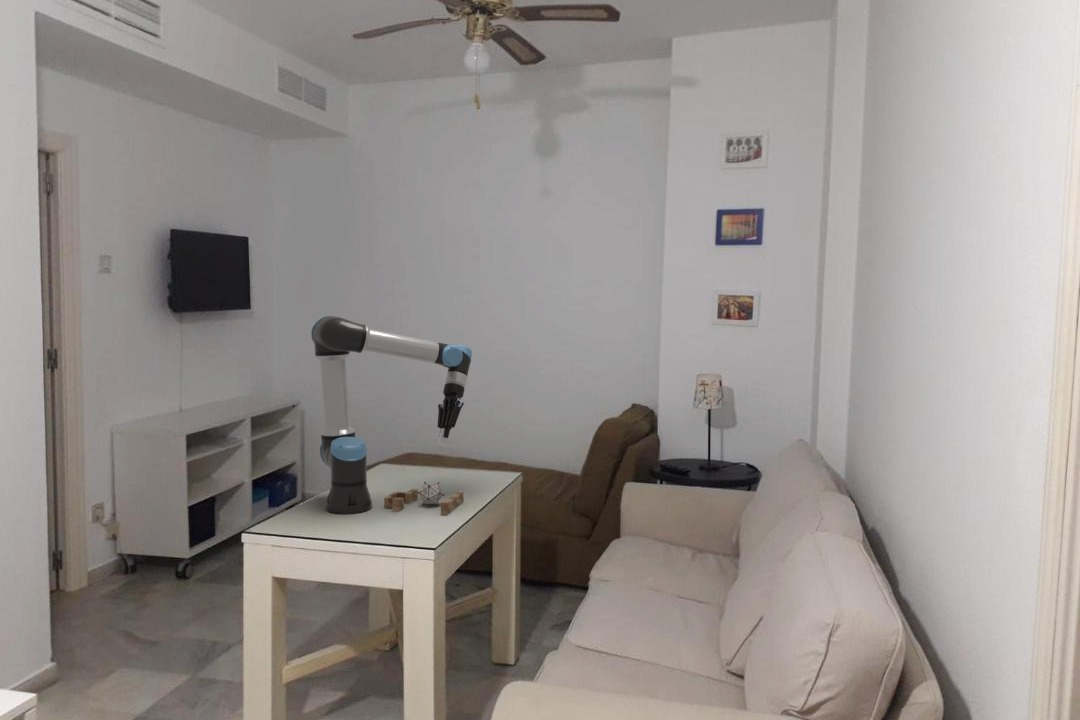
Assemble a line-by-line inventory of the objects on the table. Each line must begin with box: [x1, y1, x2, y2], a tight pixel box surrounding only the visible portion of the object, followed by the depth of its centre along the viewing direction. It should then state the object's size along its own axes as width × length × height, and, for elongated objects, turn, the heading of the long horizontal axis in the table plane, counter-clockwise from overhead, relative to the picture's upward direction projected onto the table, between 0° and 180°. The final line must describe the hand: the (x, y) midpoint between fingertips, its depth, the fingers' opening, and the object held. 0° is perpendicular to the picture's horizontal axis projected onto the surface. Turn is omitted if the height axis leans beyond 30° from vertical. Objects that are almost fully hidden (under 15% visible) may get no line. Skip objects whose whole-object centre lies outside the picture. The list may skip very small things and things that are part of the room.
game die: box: [417, 481, 445, 507], centre depth 268 cm, size 9×8×10 cm
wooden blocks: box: [383, 488, 464, 516], centre depth 267 cm, size 18×24×4 cm
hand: (441, 446), depth 280 cm, fingers closed
